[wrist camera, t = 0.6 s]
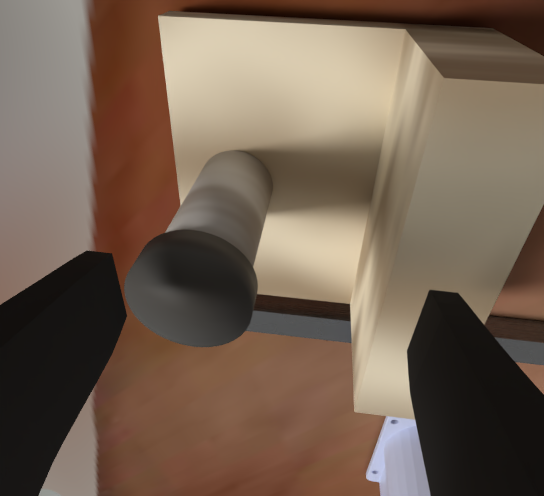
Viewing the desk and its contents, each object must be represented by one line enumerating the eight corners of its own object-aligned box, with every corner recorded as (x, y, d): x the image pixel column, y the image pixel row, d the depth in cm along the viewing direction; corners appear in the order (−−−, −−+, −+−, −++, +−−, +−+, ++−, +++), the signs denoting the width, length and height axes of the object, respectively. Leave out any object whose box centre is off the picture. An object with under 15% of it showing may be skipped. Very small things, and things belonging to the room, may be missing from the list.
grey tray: (677, 358, 22) (730, 422, 19) (168, 301, 24) (145, 351, 21) (1087, -62, 11) (1351, -63, 8) (101, -94, 13) (37, -103, 10)
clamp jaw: (409, 293, 21) (442, 454, 14) (196, 271, 22) (136, 413, 15) (492, 27, 14) (636, 107, 7) (169, 10, 15) (33, 67, 8)
